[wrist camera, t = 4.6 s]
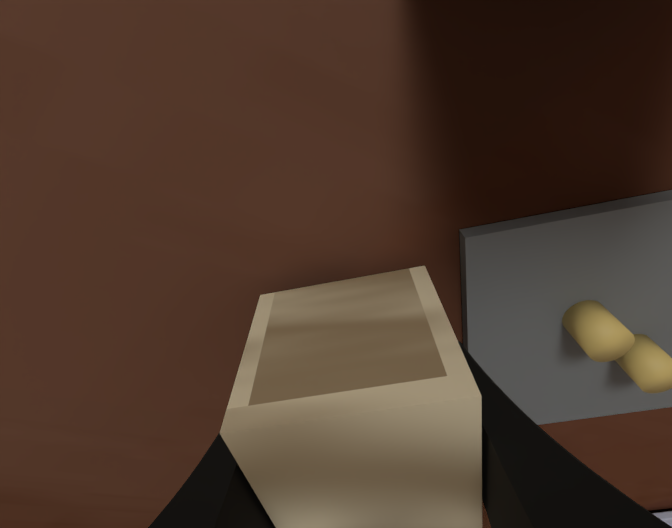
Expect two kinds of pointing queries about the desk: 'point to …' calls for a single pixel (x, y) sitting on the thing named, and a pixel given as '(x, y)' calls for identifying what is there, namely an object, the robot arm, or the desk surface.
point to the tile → (574, 307)
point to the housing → (358, 408)
